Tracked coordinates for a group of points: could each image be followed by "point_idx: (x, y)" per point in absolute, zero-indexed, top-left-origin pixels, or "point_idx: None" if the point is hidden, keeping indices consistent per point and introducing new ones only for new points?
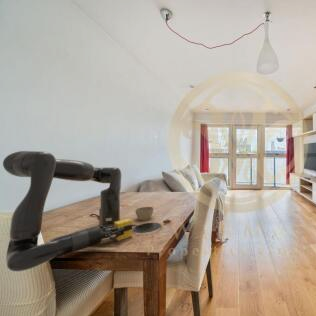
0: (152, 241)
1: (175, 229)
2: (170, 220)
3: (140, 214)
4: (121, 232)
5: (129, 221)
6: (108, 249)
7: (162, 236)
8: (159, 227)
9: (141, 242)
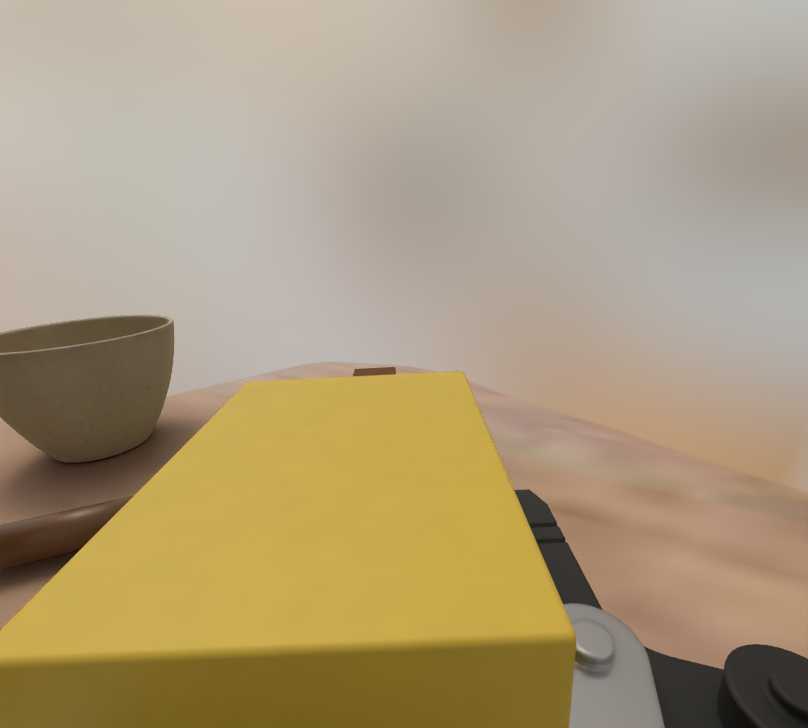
0: (739, 556)
1: (531, 402)
2: (394, 367)
3: (84, 382)
4: None
5: (470, 401)
6: None
7: (629, 471)
8: None
9: (720, 651)
